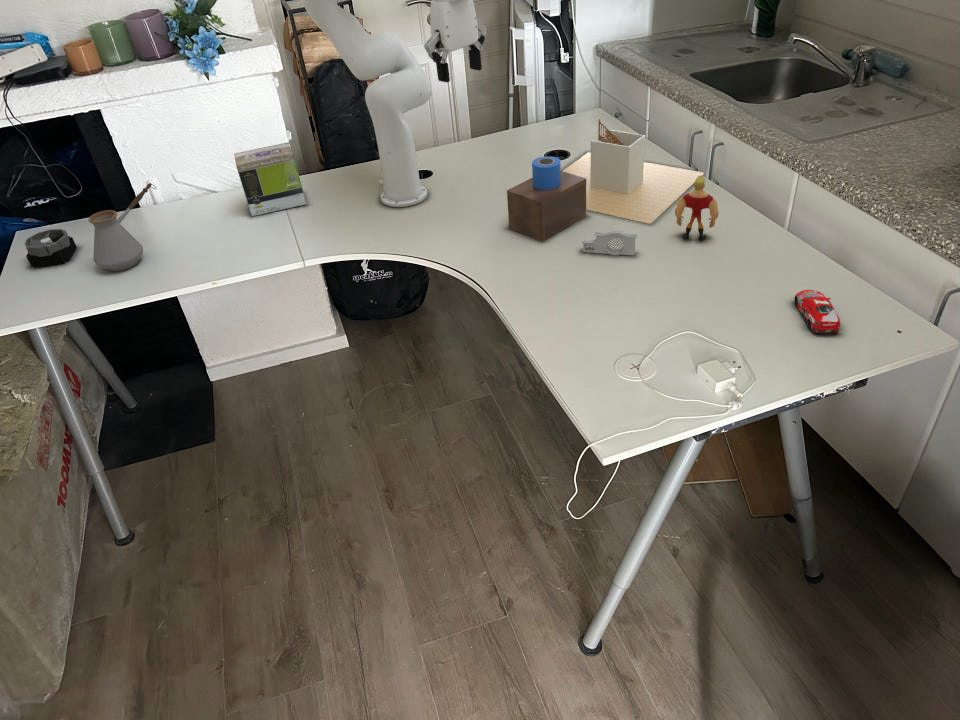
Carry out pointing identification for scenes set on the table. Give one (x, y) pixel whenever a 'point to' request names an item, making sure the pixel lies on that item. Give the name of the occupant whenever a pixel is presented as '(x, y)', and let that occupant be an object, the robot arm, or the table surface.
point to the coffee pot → (115, 239)
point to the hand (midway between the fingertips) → (460, 75)
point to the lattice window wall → (605, 237)
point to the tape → (546, 173)
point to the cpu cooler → (49, 248)
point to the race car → (817, 311)
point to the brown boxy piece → (546, 207)
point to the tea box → (270, 178)
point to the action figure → (697, 208)
